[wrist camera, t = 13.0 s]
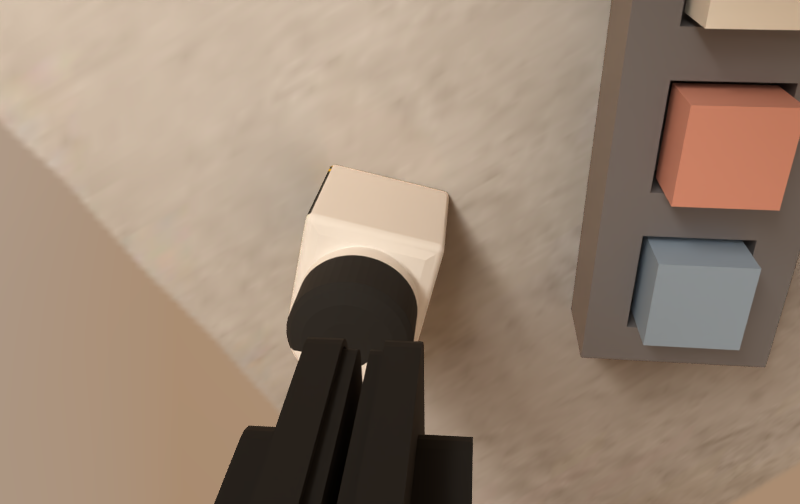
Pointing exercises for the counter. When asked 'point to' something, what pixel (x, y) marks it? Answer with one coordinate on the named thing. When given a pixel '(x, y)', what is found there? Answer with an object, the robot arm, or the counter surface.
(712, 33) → the key panel
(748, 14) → the off-white key
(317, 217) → the medicine bottle
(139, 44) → the counter surface
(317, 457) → the robot arm
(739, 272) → the slate-blue key
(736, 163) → the terracotta key
